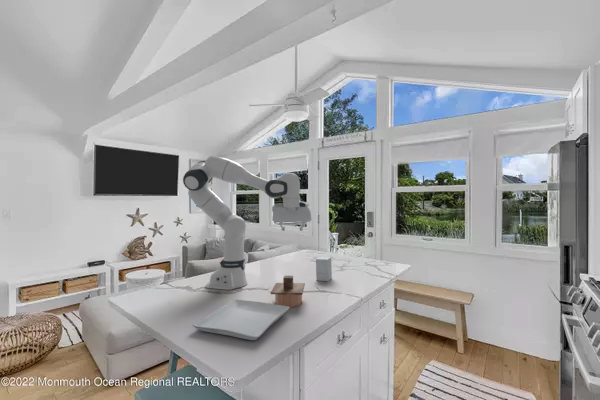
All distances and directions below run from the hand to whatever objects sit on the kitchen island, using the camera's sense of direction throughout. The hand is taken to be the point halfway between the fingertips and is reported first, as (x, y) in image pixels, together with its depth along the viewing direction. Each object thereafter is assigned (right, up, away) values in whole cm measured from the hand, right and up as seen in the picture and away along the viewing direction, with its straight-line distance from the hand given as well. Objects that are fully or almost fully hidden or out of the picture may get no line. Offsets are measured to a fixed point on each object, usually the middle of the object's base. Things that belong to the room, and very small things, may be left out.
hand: (292, 230), depth 148 cm
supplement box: (+18, -31, +19) cm, 40 cm away
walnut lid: (-1, -25, -17) cm, 30 cm away
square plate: (-17, -32, -38) cm, 53 cm away
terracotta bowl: (-1, -31, -17) cm, 35 cm away
